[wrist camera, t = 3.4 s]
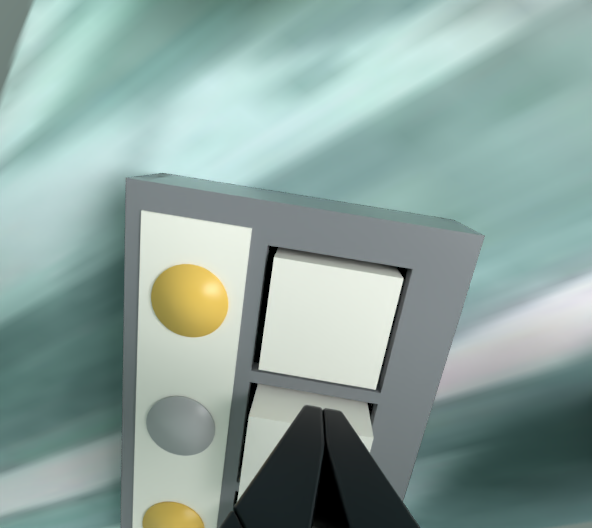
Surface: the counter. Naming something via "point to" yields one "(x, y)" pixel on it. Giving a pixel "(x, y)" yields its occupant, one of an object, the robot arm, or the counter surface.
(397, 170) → the counter surface
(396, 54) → the counter surface
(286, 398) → the button
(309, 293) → the button
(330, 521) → the robot arm
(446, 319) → the board
